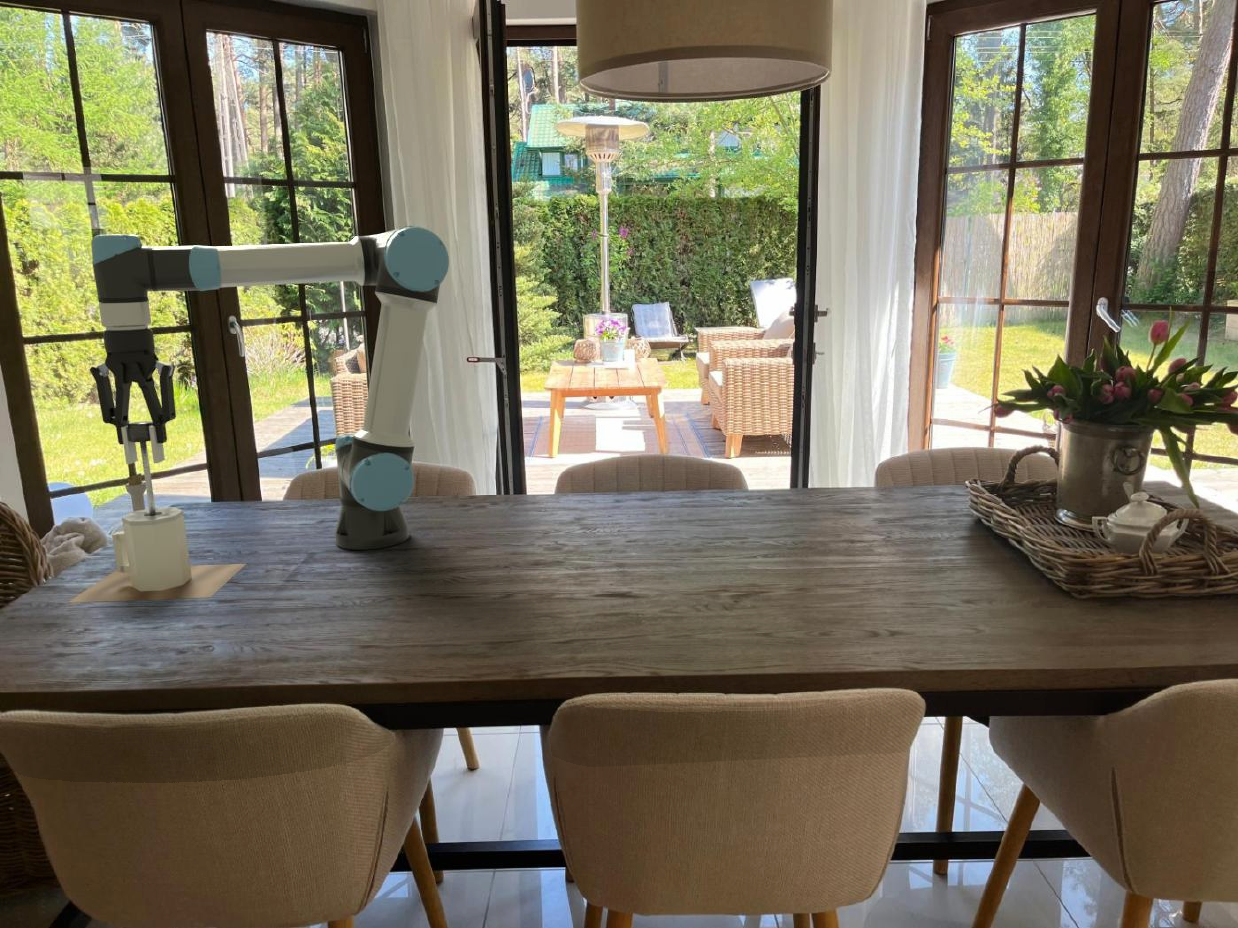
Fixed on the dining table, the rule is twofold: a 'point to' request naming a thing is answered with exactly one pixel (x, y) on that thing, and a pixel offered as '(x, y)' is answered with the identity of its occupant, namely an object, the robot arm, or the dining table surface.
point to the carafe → (153, 549)
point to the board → (199, 586)
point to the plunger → (144, 456)
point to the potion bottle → (136, 491)
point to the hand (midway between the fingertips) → (145, 461)
